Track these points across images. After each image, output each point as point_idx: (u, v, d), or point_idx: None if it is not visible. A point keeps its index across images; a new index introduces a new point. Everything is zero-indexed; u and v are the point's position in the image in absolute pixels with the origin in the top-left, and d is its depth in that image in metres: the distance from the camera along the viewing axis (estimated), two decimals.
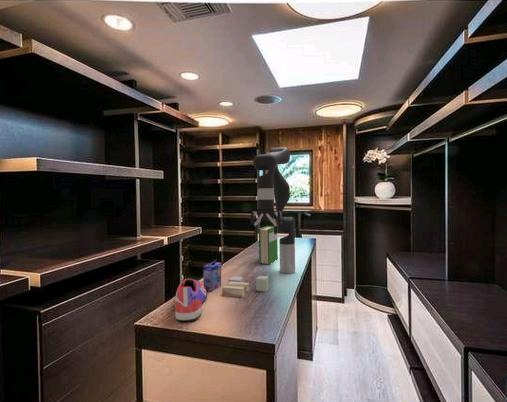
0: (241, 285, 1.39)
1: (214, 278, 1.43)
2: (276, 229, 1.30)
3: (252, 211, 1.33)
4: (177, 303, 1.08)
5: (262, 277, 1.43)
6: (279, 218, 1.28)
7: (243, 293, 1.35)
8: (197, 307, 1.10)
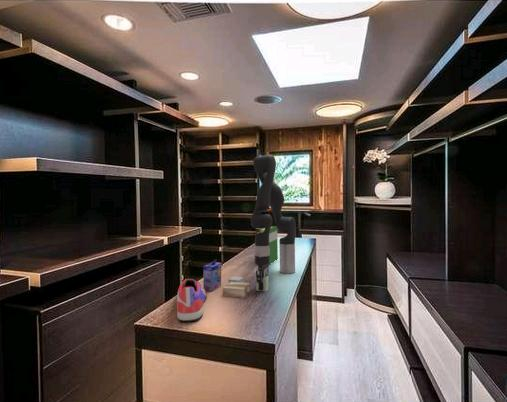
0: (241, 285, 1.38)
1: (214, 278, 1.43)
2: None
3: (259, 271, 1.37)
4: (179, 303, 1.07)
5: None
6: (267, 271, 1.48)
7: (244, 293, 1.34)
8: (199, 307, 1.10)
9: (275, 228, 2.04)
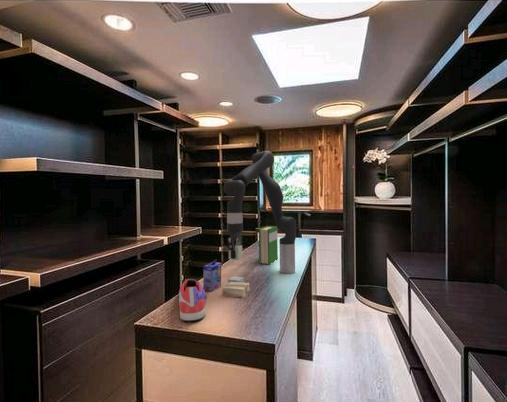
0: (241, 285, 1.38)
1: (214, 278, 1.43)
2: None
3: (231, 238, 1.33)
4: (183, 303, 1.07)
5: None
6: (241, 240, 1.44)
7: (244, 293, 1.34)
8: (202, 307, 1.10)
9: (275, 228, 2.04)
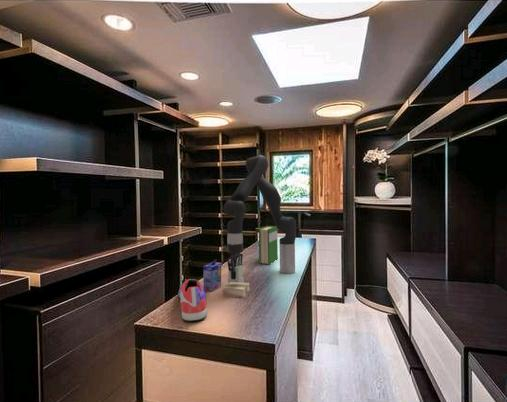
0: (241, 285, 1.38)
1: (214, 278, 1.43)
2: None
3: (231, 259, 1.33)
4: (185, 304, 1.07)
5: None
6: None
7: (244, 293, 1.34)
8: (204, 306, 1.10)
9: (275, 228, 2.04)
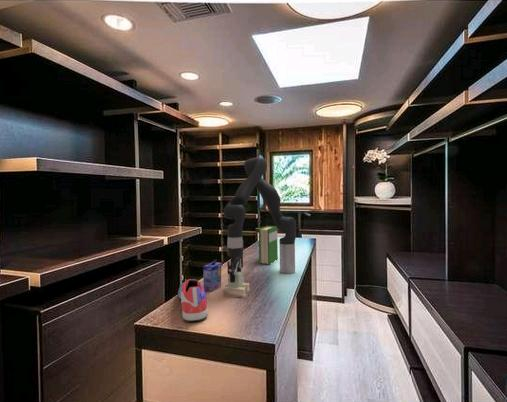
0: (241, 285, 1.38)
1: (214, 278, 1.43)
2: None
3: (231, 261, 1.33)
4: (186, 304, 1.07)
5: (235, 272, 1.39)
6: (242, 261, 1.45)
7: (244, 293, 1.34)
8: (205, 306, 1.10)
9: (275, 228, 2.04)
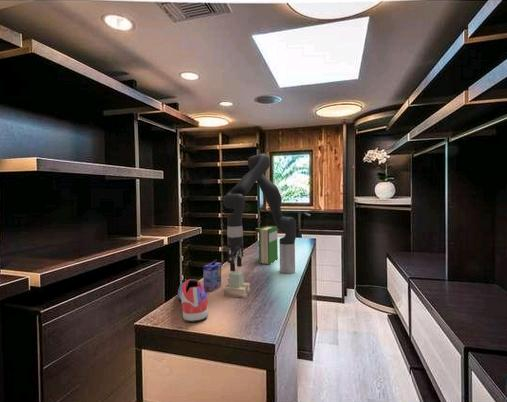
0: (242, 285, 1.38)
1: (214, 278, 1.43)
2: None
3: (231, 250, 1.33)
4: (186, 304, 1.07)
5: (236, 273, 1.39)
6: (242, 251, 1.45)
7: (245, 293, 1.34)
8: (206, 307, 1.10)
9: (275, 228, 2.04)
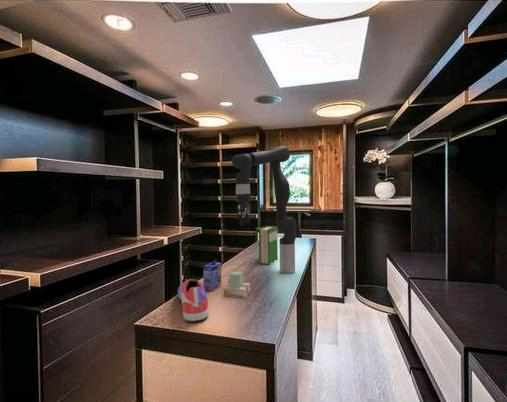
0: (242, 285, 1.38)
1: (214, 278, 1.43)
2: None
3: (240, 205, 1.44)
4: (187, 304, 1.07)
5: (236, 273, 1.38)
6: None
7: (245, 293, 1.34)
8: (206, 307, 1.10)
9: (275, 228, 2.04)
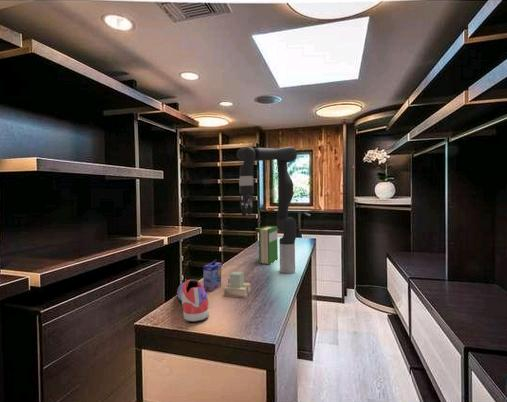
0: None
1: (214, 278, 1.43)
2: None
3: (243, 196, 1.48)
4: (187, 304, 1.07)
5: (236, 273, 1.39)
6: (252, 201, 1.60)
7: (245, 293, 1.34)
8: (207, 307, 1.10)
9: (275, 228, 2.04)
